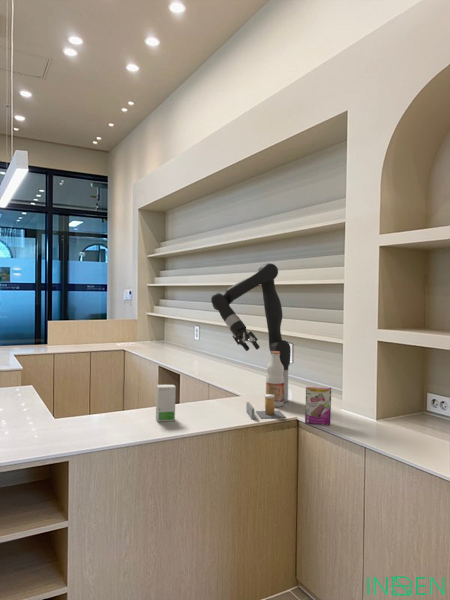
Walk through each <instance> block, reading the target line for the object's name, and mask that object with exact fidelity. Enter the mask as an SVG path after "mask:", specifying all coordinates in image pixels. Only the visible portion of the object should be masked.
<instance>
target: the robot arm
mask: <svg viewBox="0 0 450 600" xmlns="http://www.w3.org/2000/svg"><path fill="white" fill-rule="evenodd" d="M278 275H279V269H278V267H277V266H276V264H273V263H272V262H271V263H262V264H261V265H260V266H259V267H258V271H257V272H255V273H254V274H252V275H251V276H249V277H247V278H245V279H242V280H240V281H238V282H236V283H235V284H233V285H231V286H230V287H228V288H227V289H226V291H225V292H224V294H223V293H220V292H215V293H214V294H212V295H211V304H212V307H213V309H214V310H216V311H218V313H219V316H221V319H222V320H223V321H224V323H225V324H226V326H227V328H228V329H229V331H230V332H231V333H232V338H233V340H234V341H235V342H236V344H237V345H238V346H242V347H243V349H244V351H246V352H247V351H249V350H250V346H249V345H248V344H247V343H250V344H252V346H253V347H254V349H255V350H259V349H260V345H259V344H258V342H257V341H258V340H259V339H258V338H257V337H256V335H255V333H253V332H252V330H251V331H249V332H248V331H247V326H246V325H245V323H244V322H243V320H242V319H241V318H240V317H239V315H237V314H236V312H235V311H234V309H233V308H232V307H231V306H230V305H231V304H232V303H233V301H235V300H237V299H238V298H240V297H242V296H243V295H245V294H247V293H249V291H252V290H253V289H255V288H256V287H258V286H260V285H261V290H262V291H261V292H262V298H263V306H264V313H265V314H264V315H265V319H266V325H267V330H268V331H267V332H268V334H267V335H268V345H269V347H268V348H269V351H270V353H271V351H279V352H280V355H279V357H280V361H281V363H282V365H283V366H284V372H283V376H284V403H287V402H288V401H289V367H290V363H291V353H292V352H291V351H292V350H291V345H290V343H289V342H288V341H287V340H284V339H283V337H282V331H281V325H282V322H283V309H282V308H283V307H282V304H281V300H280V297H279V295H278V292H277V289H276V286H275V279H276V278H277V277H278ZM246 342H247V343H246Z"/></svg>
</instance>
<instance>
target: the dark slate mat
mask: <svg viewBox="0 0 450 600" xmlns="http://www.w3.org/2000/svg"><path fill="white" fill-rule="evenodd" d="M255 413H256V414H257V415H258V417H259V418H260V419H262V420H263V419H286V418H287V417H286V415H285V414H284V413H282V412H281V411H280V410H275V414H274V415H266V414H265V410H255Z"/></svg>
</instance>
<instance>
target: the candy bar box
mask: <svg viewBox="0 0 450 600" xmlns="http://www.w3.org/2000/svg"><path fill="white" fill-rule="evenodd" d="M304 415H305V417H304V423H305V424H308V425H309V424H310V425H318V426H319V425H320V426H331V422H332V421H331V420H332V419H331V418H332V417H331V416H332V387H331V386H318V385H317V386H316V385H306V388H305V413H304Z"/></svg>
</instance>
